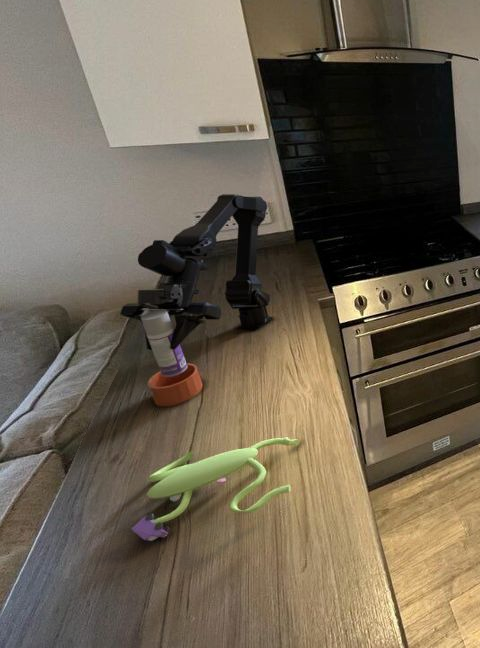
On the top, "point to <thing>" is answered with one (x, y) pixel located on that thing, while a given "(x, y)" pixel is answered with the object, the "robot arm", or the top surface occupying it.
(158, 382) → the orange-brown bowl
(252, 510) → the figurine
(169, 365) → the container
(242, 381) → the top surface
